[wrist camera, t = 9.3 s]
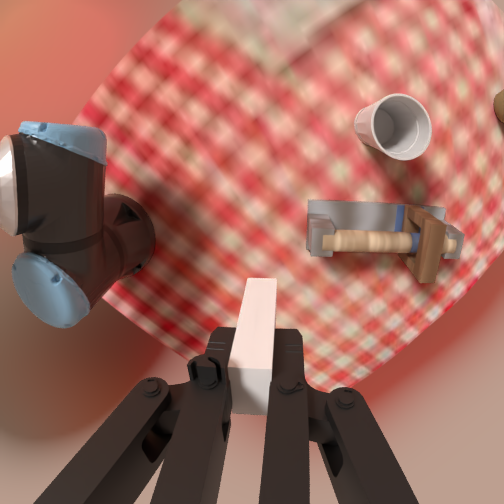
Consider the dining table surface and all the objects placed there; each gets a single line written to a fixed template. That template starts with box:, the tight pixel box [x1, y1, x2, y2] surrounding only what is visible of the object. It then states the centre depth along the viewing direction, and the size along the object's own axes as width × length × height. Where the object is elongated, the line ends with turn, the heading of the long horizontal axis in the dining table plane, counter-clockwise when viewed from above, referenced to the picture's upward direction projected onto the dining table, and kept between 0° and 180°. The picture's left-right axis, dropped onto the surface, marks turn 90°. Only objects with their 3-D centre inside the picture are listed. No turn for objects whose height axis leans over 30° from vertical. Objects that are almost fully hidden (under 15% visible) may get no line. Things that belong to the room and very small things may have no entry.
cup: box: [354, 94, 432, 160], centre depth 35 cm, size 8×8×12 cm
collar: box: [398, 205, 447, 283], centre depth 40 cm, size 2×8×10 cm, turn 1°
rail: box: [306, 199, 465, 259], centre depth 43 cm, size 24×8×8 cm, turn 91°
